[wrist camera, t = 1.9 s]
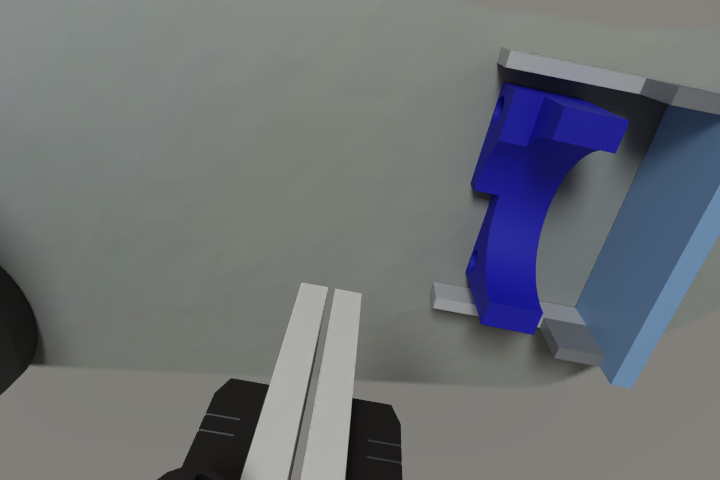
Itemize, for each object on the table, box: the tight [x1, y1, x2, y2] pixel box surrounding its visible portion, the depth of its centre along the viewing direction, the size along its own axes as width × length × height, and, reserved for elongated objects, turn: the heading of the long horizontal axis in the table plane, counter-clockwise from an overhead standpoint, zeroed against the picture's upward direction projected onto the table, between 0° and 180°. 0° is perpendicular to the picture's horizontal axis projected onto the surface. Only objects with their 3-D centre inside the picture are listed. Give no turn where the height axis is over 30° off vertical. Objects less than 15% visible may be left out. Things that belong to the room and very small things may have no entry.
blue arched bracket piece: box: [466, 82, 630, 335], centre depth 27 cm, size 12×4×6 cm, turn 169°
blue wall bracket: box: [430, 48, 720, 388], centre depth 26 cm, size 11×16×6 cm
